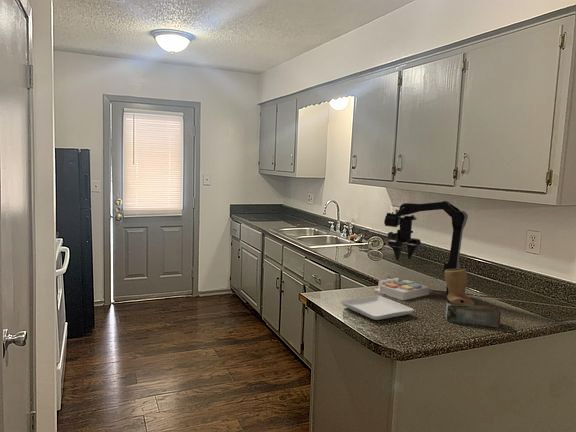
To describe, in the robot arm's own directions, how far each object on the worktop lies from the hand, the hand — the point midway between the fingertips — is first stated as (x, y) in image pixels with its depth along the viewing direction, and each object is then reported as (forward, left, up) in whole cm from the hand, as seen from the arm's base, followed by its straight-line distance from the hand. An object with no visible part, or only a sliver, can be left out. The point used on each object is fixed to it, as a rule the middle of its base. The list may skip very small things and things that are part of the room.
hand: (403, 259), depth 228 cm
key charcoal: (-8, +12, -10) cm, 18 cm away
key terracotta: (-8, +18, -10) cm, 23 cm away
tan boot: (-32, +2, -13) cm, 35 cm away
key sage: (-8, +6, -10) cm, 15 cm away
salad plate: (-23, +46, -14) cm, 53 cm away
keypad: (-10, +12, -13) cm, 20 cm away
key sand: (-14, +15, -10) cm, 23 cm away
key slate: (-14, +9, -10) cm, 20 cm away
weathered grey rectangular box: (-50, +23, -14) cm, 56 cm away
